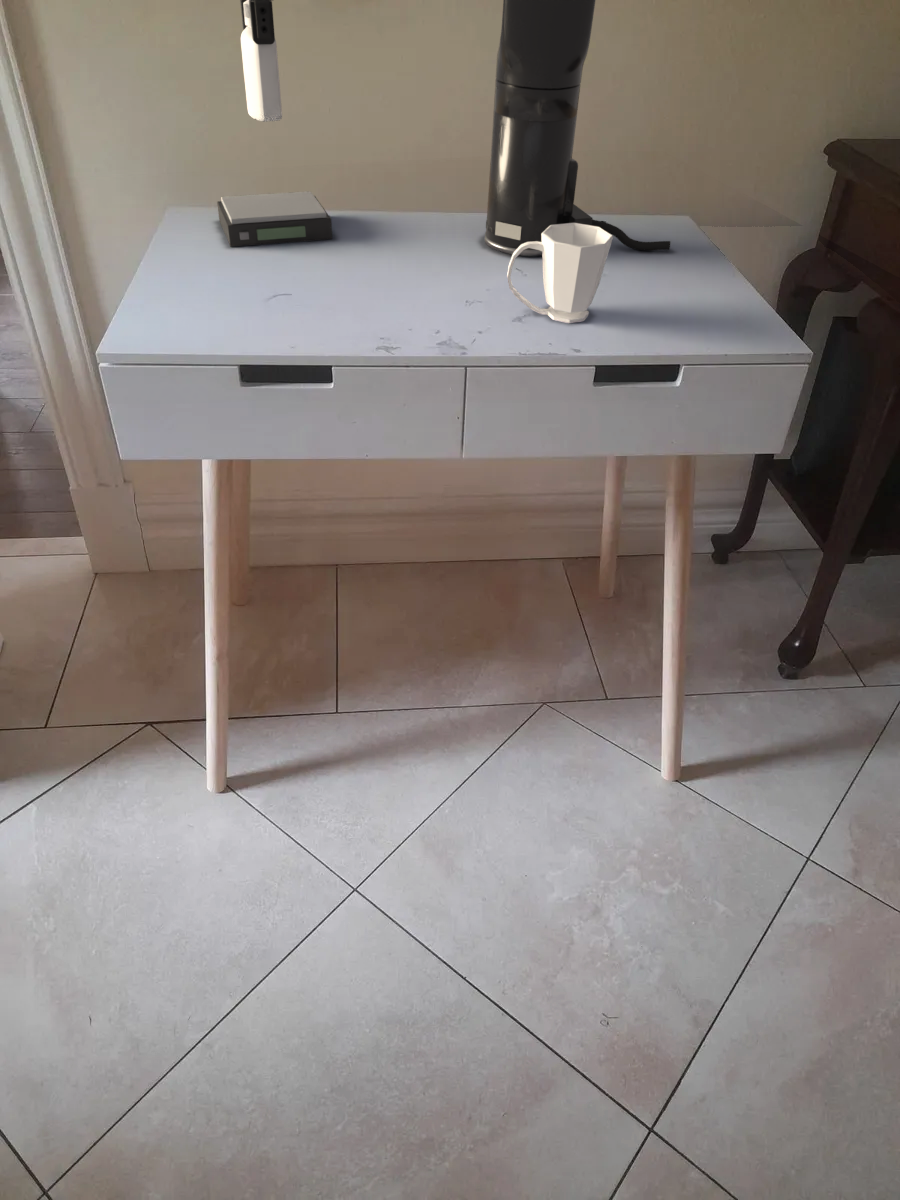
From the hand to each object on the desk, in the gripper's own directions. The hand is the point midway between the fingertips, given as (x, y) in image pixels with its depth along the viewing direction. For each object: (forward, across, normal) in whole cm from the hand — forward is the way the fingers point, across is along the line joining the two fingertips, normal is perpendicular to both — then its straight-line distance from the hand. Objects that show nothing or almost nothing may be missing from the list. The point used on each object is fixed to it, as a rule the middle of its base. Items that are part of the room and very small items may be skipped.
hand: (258, 37), depth 94 cm
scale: (+20, 0, 0) cm, 20 cm away
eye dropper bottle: (+8, 0, 0) cm, 8 cm away
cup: (+20, -31, -23) cm, 43 cm away
